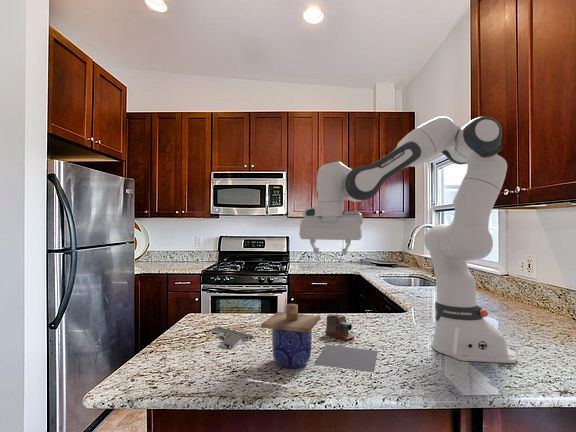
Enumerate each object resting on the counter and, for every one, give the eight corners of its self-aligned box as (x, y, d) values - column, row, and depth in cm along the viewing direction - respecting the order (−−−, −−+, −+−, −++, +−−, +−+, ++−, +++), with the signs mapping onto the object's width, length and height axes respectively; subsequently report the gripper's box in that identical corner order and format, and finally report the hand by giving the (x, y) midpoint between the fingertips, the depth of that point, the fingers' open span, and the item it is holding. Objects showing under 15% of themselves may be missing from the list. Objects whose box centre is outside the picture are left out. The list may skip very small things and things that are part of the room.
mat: (377, 352, 101) (377, 350, 102) (374, 373, 86) (374, 372, 86) (325, 345, 107) (325, 344, 107) (313, 365, 91) (313, 364, 91)
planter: (266, 359, 95) (266, 320, 96) (301, 354, 99) (301, 316, 100) (280, 375, 85) (280, 331, 86) (318, 368, 89) (318, 326, 90)
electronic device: (347, 343, 109) (346, 319, 110) (324, 336, 117) (324, 314, 117) (355, 340, 112) (355, 317, 113) (333, 333, 120) (332, 312, 120)
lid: (320, 319, 97) (320, 301, 97) (308, 332, 84) (308, 312, 85) (277, 315, 101) (277, 298, 101) (261, 327, 88) (261, 308, 89)
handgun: (192, 339, 114) (218, 330, 124) (231, 351, 103) (257, 340, 113) (192, 334, 114) (218, 326, 124) (231, 345, 103) (257, 335, 113)
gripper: (363, 211, 109) (363, 254, 109) (303, 212, 116) (303, 252, 115) (361, 210, 103) (361, 255, 103) (298, 211, 110) (297, 253, 109)
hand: (330, 253), depth 109 cm, fingers open, 8 cm apart
